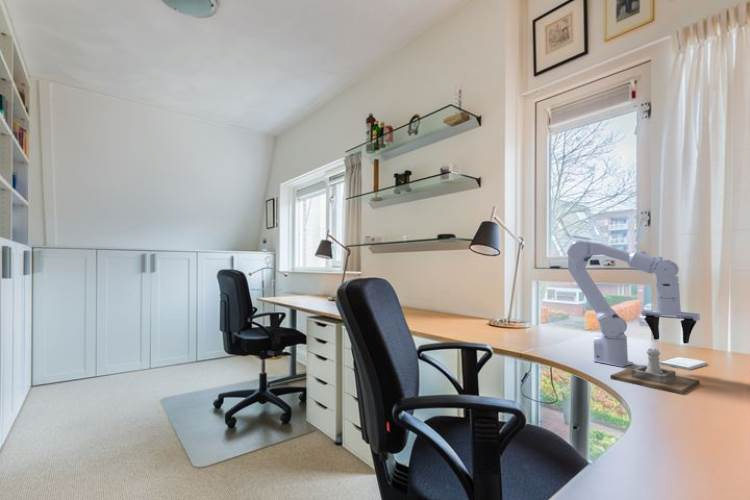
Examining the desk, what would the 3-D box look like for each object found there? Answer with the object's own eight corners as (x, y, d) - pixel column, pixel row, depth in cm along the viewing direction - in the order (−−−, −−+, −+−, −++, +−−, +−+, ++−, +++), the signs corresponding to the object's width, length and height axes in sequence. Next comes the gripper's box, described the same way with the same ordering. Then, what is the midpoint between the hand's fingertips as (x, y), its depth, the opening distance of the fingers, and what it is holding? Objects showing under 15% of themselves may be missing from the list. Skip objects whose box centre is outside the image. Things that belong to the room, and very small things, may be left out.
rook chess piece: (666, 380, 104) (665, 351, 105) (647, 378, 106) (646, 350, 106) (661, 375, 108) (659, 348, 109) (643, 374, 110) (641, 347, 110)
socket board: (610, 378, 110) (609, 368, 110) (631, 370, 118) (630, 361, 118) (681, 394, 96) (680, 382, 96) (699, 383, 104) (699, 372, 104)
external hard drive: (707, 366, 122) (688, 372, 117) (678, 361, 130) (659, 366, 124) (707, 361, 123) (688, 366, 117) (677, 356, 130) (658, 361, 124)
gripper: (636, 297, 121) (639, 339, 120) (692, 300, 109) (695, 346, 108) (646, 296, 125) (648, 336, 124) (701, 298, 113) (703, 343, 112)
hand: (670, 341), depth 116 cm, fingers open, 7 cm apart
